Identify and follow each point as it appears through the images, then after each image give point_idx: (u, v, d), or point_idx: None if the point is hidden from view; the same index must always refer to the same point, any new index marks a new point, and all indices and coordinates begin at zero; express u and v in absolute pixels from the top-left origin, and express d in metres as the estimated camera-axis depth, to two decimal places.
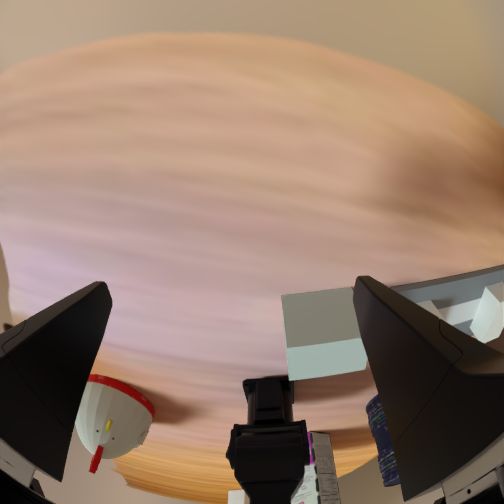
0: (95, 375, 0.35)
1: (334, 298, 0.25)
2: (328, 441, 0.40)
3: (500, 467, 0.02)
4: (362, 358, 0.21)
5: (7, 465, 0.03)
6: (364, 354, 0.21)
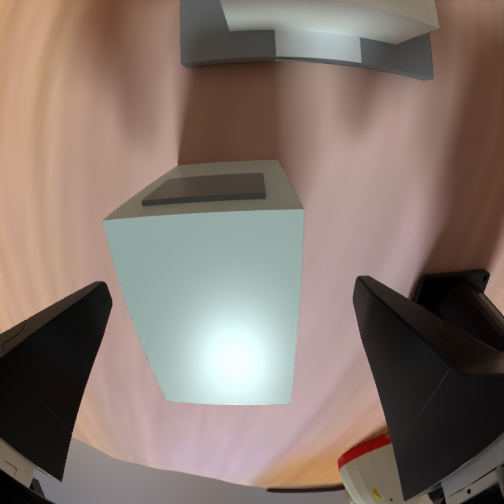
0: (338, 460, 0.28)
1: None
2: None
3: (500, 467, 0.02)
4: (220, 235, 0.06)
5: (7, 465, 0.03)
6: (196, 231, 0.06)
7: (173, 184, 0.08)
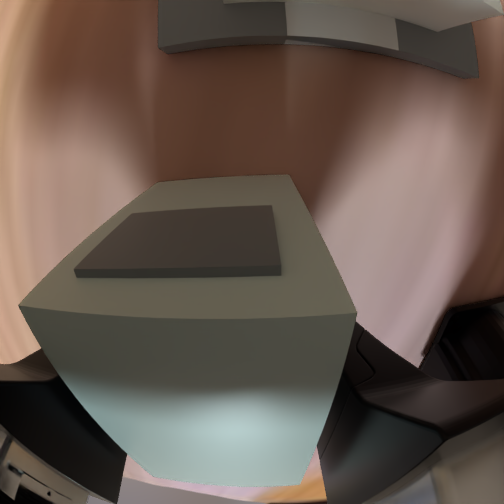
0: None
1: None
2: None
3: None
4: (198, 352, 0.03)
5: (64, 499, 0.03)
6: (154, 343, 0.03)
7: (132, 228, 0.05)
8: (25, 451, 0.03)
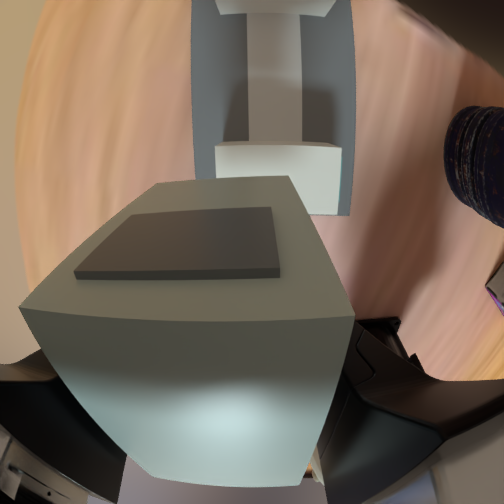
0: None
1: None
2: None
3: None
4: (197, 354, 0.03)
5: (64, 499, 0.03)
6: (153, 345, 0.03)
7: (131, 230, 0.05)
8: (25, 451, 0.03)
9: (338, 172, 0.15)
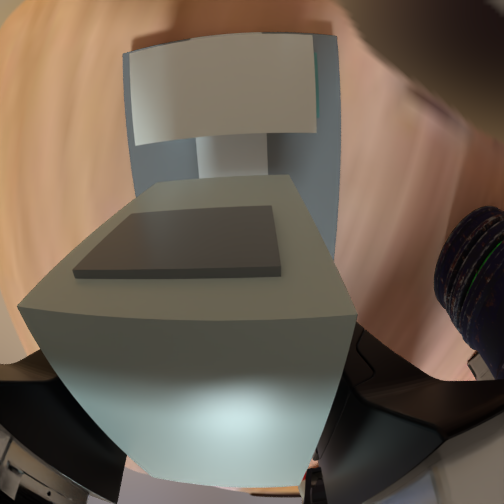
0: None
1: None
2: None
3: None
4: (197, 353, 0.03)
5: (64, 499, 0.03)
6: (153, 345, 0.03)
7: (131, 229, 0.05)
8: (25, 451, 0.03)
9: None
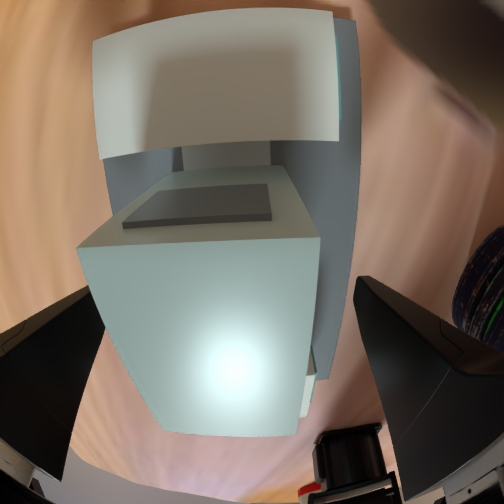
0: (298, 491, 0.36)
1: None
2: None
3: (500, 467, 0.02)
4: (216, 268, 0.05)
5: (7, 465, 0.03)
6: (185, 264, 0.05)
7: (161, 199, 0.06)
8: None
9: (308, 392, 0.12)
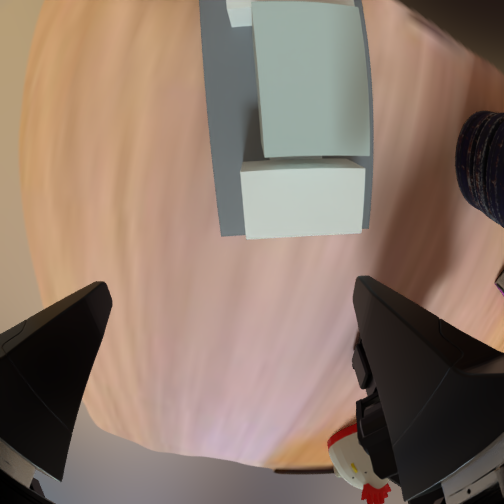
0: None
1: None
2: None
3: (500, 467, 0.02)
4: (320, 11, 0.08)
5: (7, 465, 0.03)
6: (307, 8, 0.08)
7: None
8: None
9: (362, 192, 0.15)
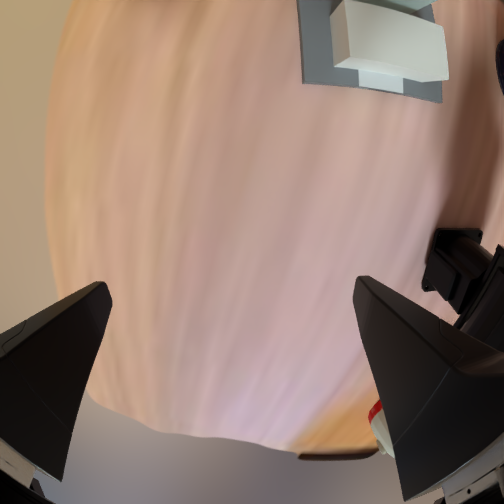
0: (369, 413, 0.34)
1: None
2: None
3: (500, 467, 0.02)
4: None
5: (7, 465, 0.03)
6: None
7: None
8: None
9: (444, 44, 0.10)
